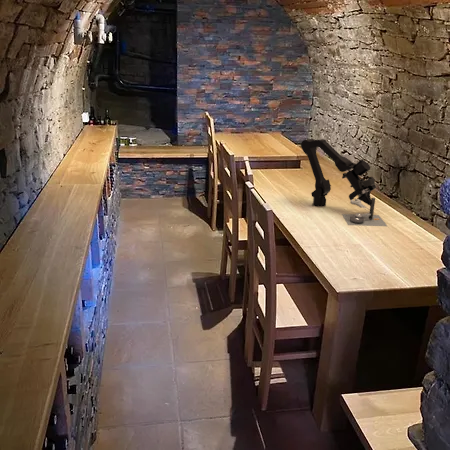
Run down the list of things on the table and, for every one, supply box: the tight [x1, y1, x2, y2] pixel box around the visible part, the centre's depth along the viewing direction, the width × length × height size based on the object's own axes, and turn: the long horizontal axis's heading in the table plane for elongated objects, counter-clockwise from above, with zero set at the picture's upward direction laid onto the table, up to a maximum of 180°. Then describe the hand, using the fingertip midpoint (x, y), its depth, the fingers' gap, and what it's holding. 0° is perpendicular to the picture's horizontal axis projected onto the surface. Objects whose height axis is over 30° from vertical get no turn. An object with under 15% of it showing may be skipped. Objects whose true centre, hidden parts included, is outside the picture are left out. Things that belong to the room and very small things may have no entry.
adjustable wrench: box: [349, 198, 375, 214], centre depth 279 cm, size 25×6×2 cm, turn 5°
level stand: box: [341, 213, 388, 227], centre depth 257 cm, size 20×17×1 cm
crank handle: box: [350, 197, 376, 223], centre depth 254 cm, size 8×13×11 cm, turn 139°
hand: (371, 205), depth 257 cm, fingers closed
